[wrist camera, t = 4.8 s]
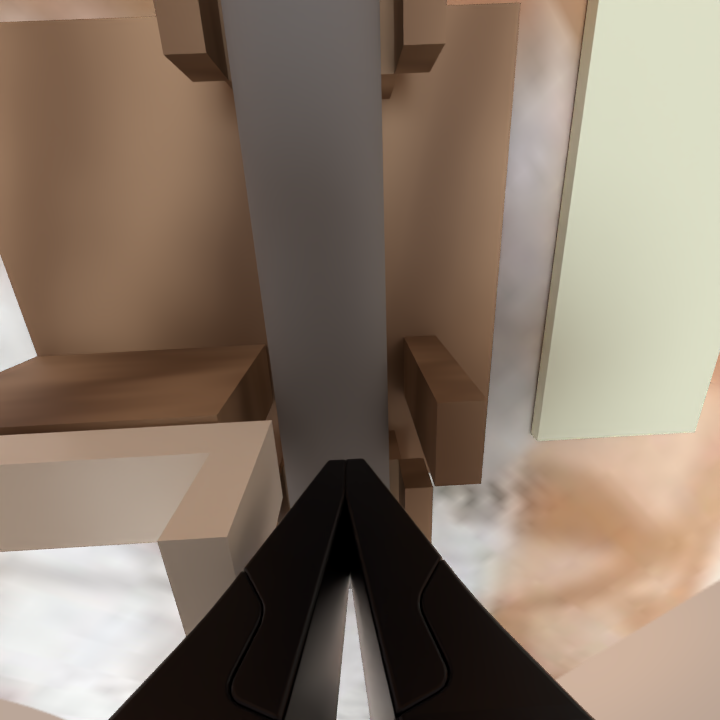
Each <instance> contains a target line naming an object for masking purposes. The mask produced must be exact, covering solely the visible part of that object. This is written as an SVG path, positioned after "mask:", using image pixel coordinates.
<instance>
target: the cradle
mask: <svg viewBox="0 0 720 720" xmlns="http://www.w3.org/2000/svg"><path fill="white" fill-rule="evenodd" d="M153 1H154V7H155V12H156V16H155V17H128V18H102V19H76V20H49V21H23V22H0V255H1V258H2V260H3V263H4V266H5V268H6V271H7V274H8V277H9V279H10V282H11V285H12V288H13V290H14V293H15V296H16V299H17V301H18V304H19V307H20V309H21V312H22V315H23V318H24V320H25V323H26V326H27V329H28V331H29V334H30V337H31V340H32V342H33V345H34V348H35V350H36V353H37V357H35V358H32V359H30V360H28V361H25V362H23V363H21V364H18V365H16V366H14V367H11V368H9V369H6V370H4V371H2V372H0V435H17V434H35V433H53V432H70V431H88V430H106V429H124V428H142V427H159V426H177V425H195V424H213V423H231V422H249V421H266V420H272V426H273V432H274V439H275V446H276V453H277V460H278V467H279V474H280V481H281V488H282V495H283V499H282V503H281V507H280V512H279V516H278V520H277V525H278V524H279V523H280V521H281V520H282V519H283V518H284V516H285V515H286V514H287V512H288V511H289V510H290V503H289V496H288V488H287V481H286V474H285V467H284V459H283V452H282V445H281V437H280V430H279V423H278V415H277V408H276V401H275V394H274V386H273V379H272V372H271V364H270V357H269V350H268V342H267V335H266V328H265V321H264V313H263V306H262V299H261V291H260V284H259V277H258V269H257V262H256V255H255V247H254V240H253V233H252V226H251V218H250V211H249V204H248V196H247V189H246V182H245V174H244V167H243V160H242V153H241V145H240V138H239V131H238V123H237V116H236V109H235V101H234V94H233V87H232V79H231V72H230V65H229V58H228V50H227V43H226V36H225V28H224V21H223V14H222V6H221V0H153ZM520 5H521V3H498V4H472V5H447V0H380V44H381V92H382V140H383V189H384V237H385V285H386V333H387V381H388V430H389V478H390V492H391V493H392V495H393V496H394V497H395V498H396V500H397V501H398V502H399V503H400V505H401V506H402V507H403V509H404V510H405V511H406V512H407V514H408V515H409V516H410V517H411V519H412V520H413V521H414V522H415V524H416V525H417V526H418V527H419V529H420V530H421V531H422V533H423V534H424V535H425V536H426V538H427V539H428V540H429V541H430V543H431V536H432V500H433V486H432V483H431V480H430V477H429V474H428V473H431V476H432V479H433V482H434V485H435V486H448V485H464V484H481V478H482V466H483V453H484V441H485V429H486V417H487V405H488V393H489V381H490V369H491V356H492V344H493V332H494V320H495V308H496V296H497V284H498V272H499V260H500V247H501V235H502V223H503V211H504V199H505V187H506V175H507V163H508V151H509V138H510V126H511V114H512V102H513V90H514V78H515V66H516V54H517V41H518V29H519V17H520ZM277 525H276V526H277Z"/></svg>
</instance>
